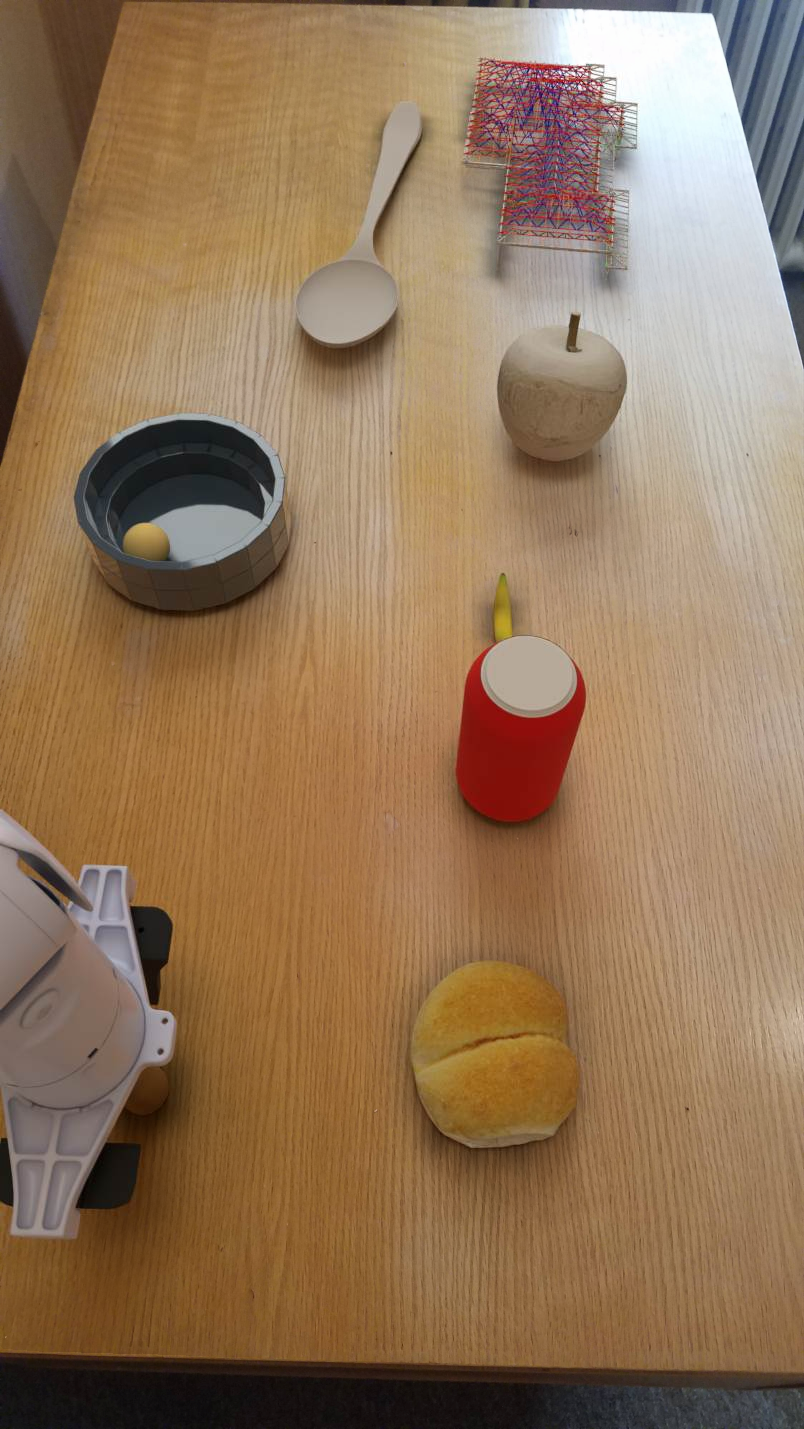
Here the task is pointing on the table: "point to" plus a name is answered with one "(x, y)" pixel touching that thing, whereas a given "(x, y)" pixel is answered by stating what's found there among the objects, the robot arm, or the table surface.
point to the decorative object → (560, 390)
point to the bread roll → (494, 1056)
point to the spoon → (361, 255)
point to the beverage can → (518, 727)
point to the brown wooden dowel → (148, 1091)
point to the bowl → (186, 509)
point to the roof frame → (595, 171)
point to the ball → (147, 542)
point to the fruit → (502, 611)
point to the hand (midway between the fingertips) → (125, 1078)
